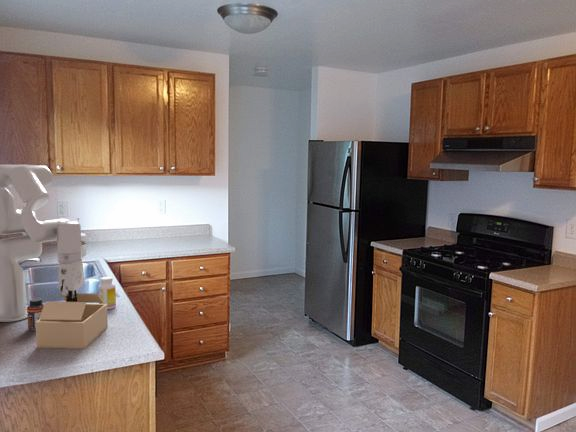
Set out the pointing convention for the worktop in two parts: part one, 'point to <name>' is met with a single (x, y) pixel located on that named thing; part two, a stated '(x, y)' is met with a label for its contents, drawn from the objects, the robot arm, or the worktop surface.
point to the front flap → (62, 310)
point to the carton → (72, 329)
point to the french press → (83, 245)
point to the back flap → (87, 298)
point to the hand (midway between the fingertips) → (72, 308)
